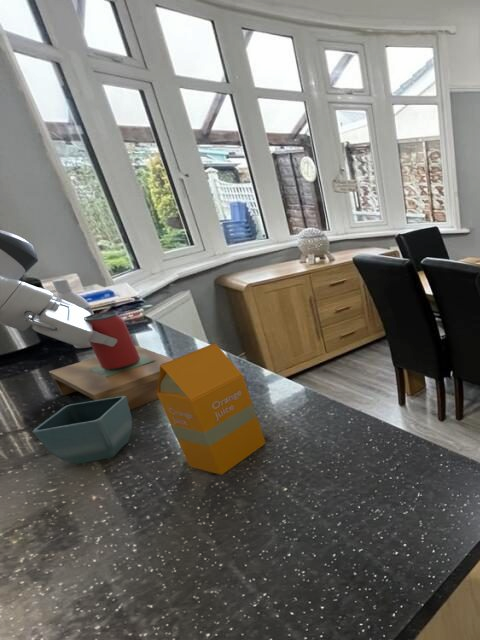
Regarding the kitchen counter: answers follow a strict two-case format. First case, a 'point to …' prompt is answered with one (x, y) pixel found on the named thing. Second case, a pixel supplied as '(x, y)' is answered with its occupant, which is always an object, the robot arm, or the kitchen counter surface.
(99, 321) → the beer can
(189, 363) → the orange juice
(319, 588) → the kitchen counter surface
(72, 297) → the bath foam
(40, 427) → the flower pot
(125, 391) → the wooden slab
